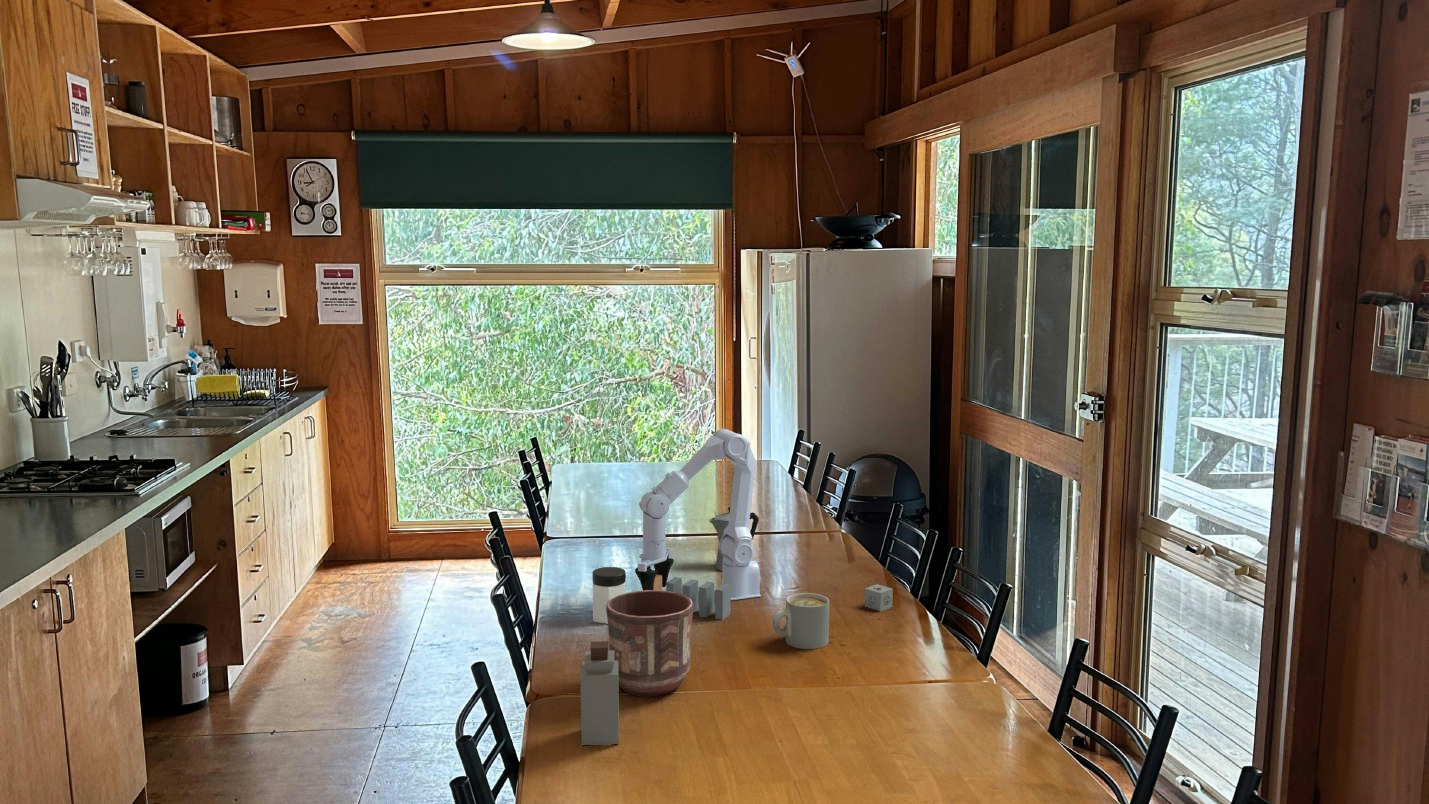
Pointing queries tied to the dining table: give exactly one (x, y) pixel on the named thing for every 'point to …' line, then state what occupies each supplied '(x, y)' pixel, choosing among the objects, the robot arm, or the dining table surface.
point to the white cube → (878, 597)
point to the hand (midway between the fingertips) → (654, 591)
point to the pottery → (650, 640)
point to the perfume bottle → (599, 696)
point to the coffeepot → (720, 524)
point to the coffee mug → (804, 621)
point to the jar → (606, 589)
